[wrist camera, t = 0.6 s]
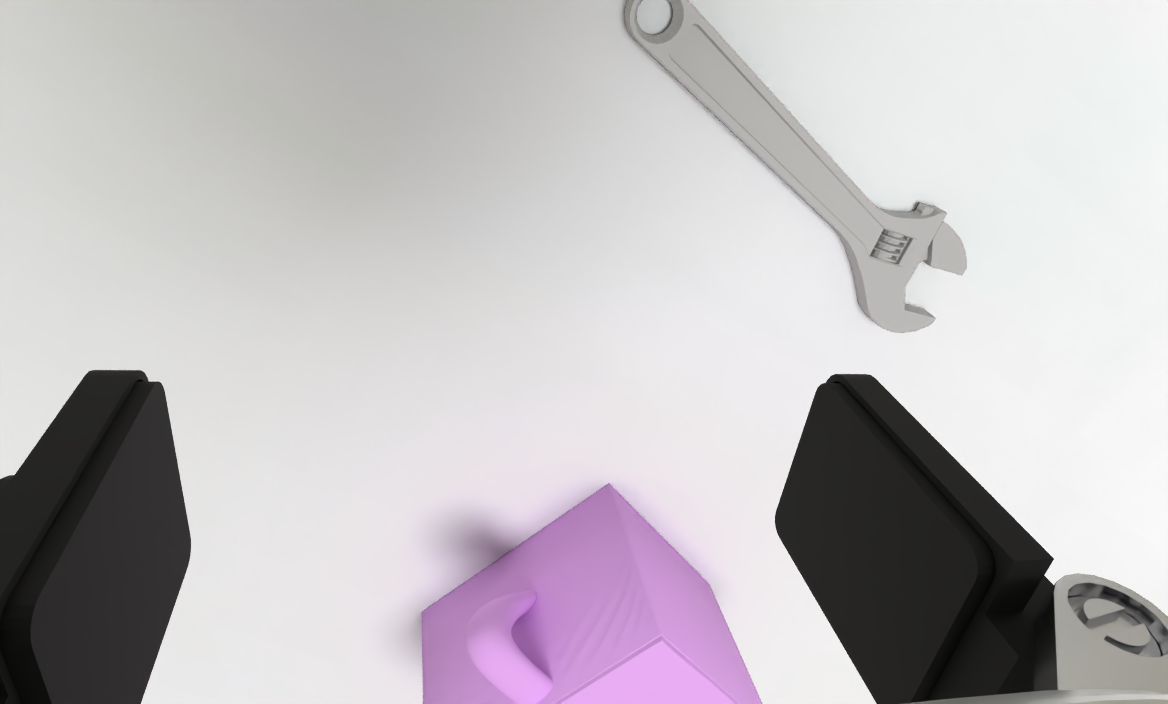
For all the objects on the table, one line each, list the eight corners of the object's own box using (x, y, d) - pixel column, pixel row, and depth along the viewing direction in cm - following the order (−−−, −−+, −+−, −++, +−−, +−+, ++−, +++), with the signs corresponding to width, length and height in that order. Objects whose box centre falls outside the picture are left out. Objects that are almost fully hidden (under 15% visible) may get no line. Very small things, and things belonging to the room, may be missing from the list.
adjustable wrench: (606, 16, 33) (615, 20, 31) (714, -102, 31) (729, -103, 30) (882, 335, 45) (899, 349, 43) (970, 261, 43) (990, 273, 42)
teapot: (594, 728, 59) (640, 934, 47) (367, 573, 46) (352, 803, 34) (754, 628, 56) (845, 818, 44) (562, 436, 43) (619, 631, 32)
